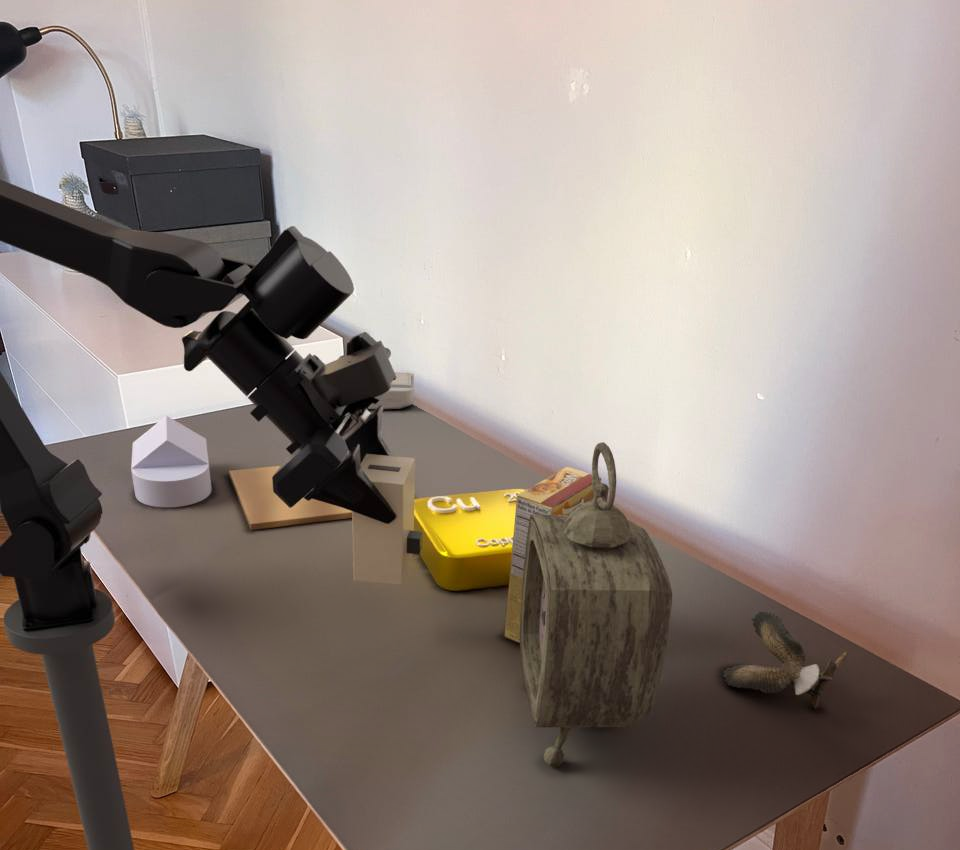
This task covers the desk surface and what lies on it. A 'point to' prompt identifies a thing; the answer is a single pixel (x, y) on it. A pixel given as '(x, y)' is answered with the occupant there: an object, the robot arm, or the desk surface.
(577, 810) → the desk surface
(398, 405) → the handheld gaming device
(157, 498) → the wedge on round base
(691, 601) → the desk surface
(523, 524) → the candy box
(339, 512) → the cork mat
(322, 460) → the robot arm
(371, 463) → the toaster
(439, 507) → the element tile
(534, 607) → the tabletop clock
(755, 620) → the eagle figurine
